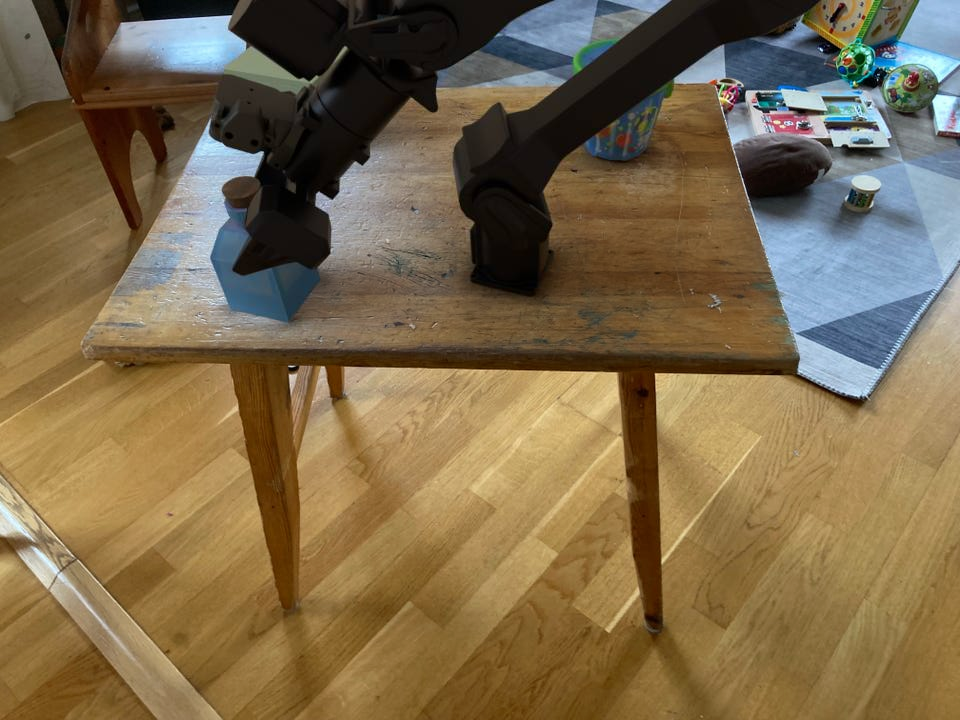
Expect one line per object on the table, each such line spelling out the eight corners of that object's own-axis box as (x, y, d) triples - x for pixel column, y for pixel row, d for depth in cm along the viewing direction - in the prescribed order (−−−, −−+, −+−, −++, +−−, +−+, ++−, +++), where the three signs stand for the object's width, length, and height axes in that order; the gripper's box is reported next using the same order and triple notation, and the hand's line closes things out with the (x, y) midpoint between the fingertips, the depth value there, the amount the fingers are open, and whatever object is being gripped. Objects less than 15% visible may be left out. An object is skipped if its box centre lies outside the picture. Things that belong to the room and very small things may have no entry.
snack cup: (635, 105, 91) (646, 21, 83) (698, 143, 85) (715, 56, 77) (532, 147, 85) (534, 62, 78) (591, 190, 79) (598, 102, 72)
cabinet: (365, 112, 92) (353, 44, 86) (327, 153, 86) (312, 83, 80) (285, 98, 95) (268, 31, 89) (243, 136, 89) (222, 68, 83)
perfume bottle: (289, 322, 67) (254, 215, 58) (230, 309, 69) (187, 202, 60) (320, 279, 71) (292, 172, 62) (264, 267, 73) (228, 161, 64)
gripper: (265, -8, 59) (172, 129, 67) (241, 111, 47) (130, 263, 54) (377, 78, 65) (280, 194, 73) (382, 203, 53) (265, 328, 60)
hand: (242, 238), depth 65 cm, fingers open, 9 cm apart
